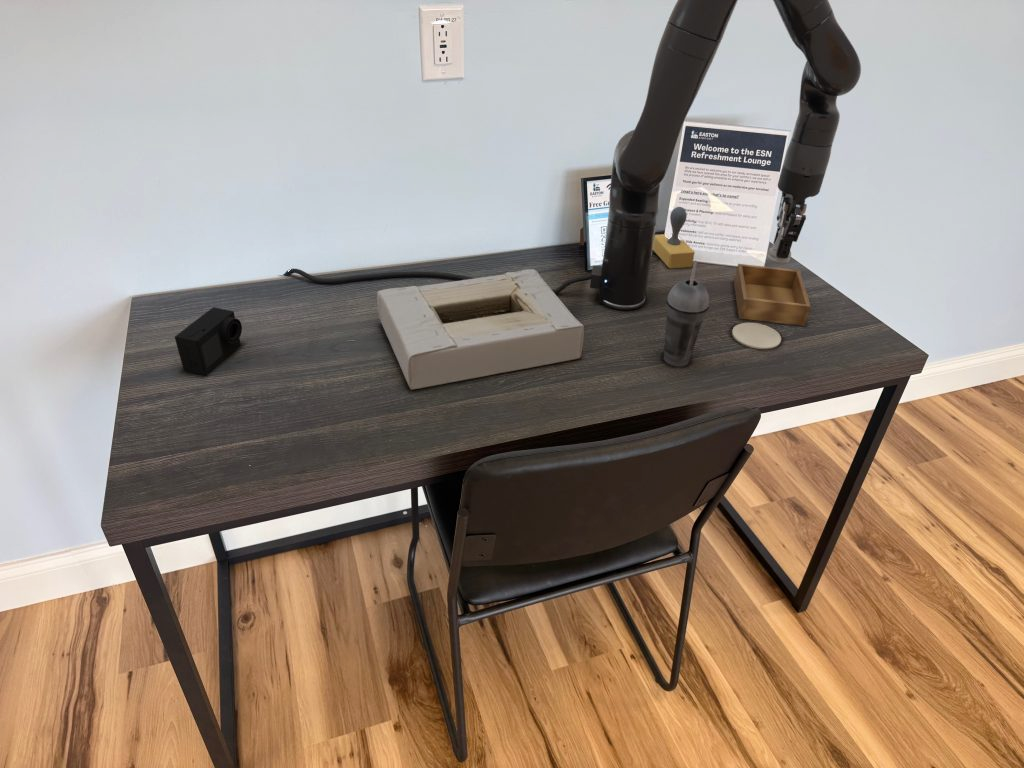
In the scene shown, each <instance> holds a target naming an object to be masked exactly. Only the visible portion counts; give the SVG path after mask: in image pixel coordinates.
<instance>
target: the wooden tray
mask: <svg viewBox="0 0 1024 768" xmlns="http://www.w3.org/2000/svg"><path fill="white" fill-rule="evenodd" d="M733 287H734V294H735V300H736V307H737V315H738V319H741V320H750V321H758V322H767V323H775V324H782V325H783V324H785V325H792V326H802V327H806V323H807V320H808V317H809V314H810V311H811V308H812V306H811V302H810V299H809V296H808V293H807V290H806V287H805V283H804V280H803V276H802V273H801V270H799V269H790V268H784V267H783V268H782V267H773V266H763V265H762V266H761V265H755V264H744V263H737V267H736V271H735V275H734V279H733Z"/></svg>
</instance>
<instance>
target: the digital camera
mask: <svg viewBox="0 0 1024 768" xmlns="http://www.w3.org/2000/svg"><path fill="white" fill-rule="evenodd" d="M242 332H243V325H242V322H241V321H240V319H238V318H236V316H235V312H234V310H228V309H225V308H220V307H219V308H218V307H212V308H210V309H209V310H207V311H206V312H205V313H203V314H202V315H201V316H200V317H198V318H197V319H196V320H194V321H193V322H191V324H189V325H188V326H187V327H185V328H184V329H183V330H181V331H180V332H179V333H177V334H176V335H175V336H174V340H175V343H176V347H177V350H178V355H179V358H180V362H181V365H182V368H183V371H184V372H187V373H193V374H197V375H202V376H206V375H208V374H210V372H211V371H213V370H214V369H215V368H216V367H217V366H218V365H219V364H221V363H222V362H223V361H224V360H225V359H226V358H227V357H229V356H230V355H231V354H232V353H234V351H235V350H237V349H238V348H239V347H240V346H241V345H242V343H241V339H240V338H241V336H242Z"/></svg>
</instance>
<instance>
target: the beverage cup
mask: <svg viewBox="0 0 1024 768" xmlns="http://www.w3.org/2000/svg"><path fill="white" fill-rule="evenodd" d="M697 266H698V260H696V259H694V260H693V264H692V270H691V275H690V279H683V280H681V281H679V282H676V284H675V285H674V286H673V287H671V289H670V291H669V292H668V295H667V297H666V299H665V303H666V324H665V334H664V347H663V360H664V362H665V363H667V364H668V365H670V366H674V367H684V366H687V365H688V364H689V363H690V359H691V357H692V356H693V351H694V349H695V347H696V343H697V339H698V336H699V333H700V331H701V327H702V324H703V321H704V319H705V317H706V315H707V313H708V310H709V309H710V296H709V292H708V290H707V289H706V287H705V286H704V284H702V283H701V282H699V281H697V280H695V276H696V275H695V274H696V270H697Z"/></svg>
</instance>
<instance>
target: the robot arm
mask: <svg viewBox="0 0 1024 768" xmlns="http://www.w3.org/2000/svg"><path fill="white" fill-rule="evenodd" d="M772 1H773V4H774V6H775V8H776V10H777V12H778V14H779V17H780V19H781V21H782V23H783V25H784V28H785V29H786V31H787V34H788V36H789V38H790V39H791V41H792V43H793V44H794V45H795V47H796V48H798V50H800V51H801V52H802V54H803V55H804V58H805V59H806V61H805V64H804V67H803V69H802V74H801V80H800V90H799V101H798V106H799V107H798V114H797V117H796V120H795V122H794V123H795V124H794V127H793V132H792V135H791V139H790V141H789V144H788V146H787V149H786V152H785V155H784V158H783V163H782V167H781V171H780V174H779V178H778V182H777V189H778V190H779V191H780V192H781V198H780V203H779V207H778V212H777V216H776V221H777V223H776V228H777V229H776V232H775V236H774V239H773V243H772V245H774V244H775V242H776V239H777V237H778V231H779V230H780V227H779V224H780V223H781V226H782V227H783V229H782V233H781V236H780V242H779V245H778V249H777V253H776V256H777V257H778V258H788V256H789V253H790V251H791V249H792V246H793V243H796V242H798V240H799V238H800V237H799V236H800V234H801V232H802V229H803V226H804V224H805V222H806V220H807V215H806V214H805V213H806V210H807V203H806V200H807V199H808V198H813V197H816V196H817V195H819V194H820V192H821V189H822V185H823V181H824V178H825V176H826V173H827V169H828V165H829V162H830V159H831V154H832V148H833V144H834V141H835V137H836V134H837V131H838V127H839V124H840V118H841V117H840V116H841V115H840V111H839V109H838V107H837V100H838V97H841V96H844V95H846V94H848V93H850V92H851V91H852V90H853V89H854V88H855V87H856V86H857V85H858V83H859V81H860V78H861V73H862V65H861V61H860V58H859V55H858V53H857V50H856V49H855V47H854V46H853V44H852V42H851V41H850V39H849V38H848V36H847V35H846V33H845V32H844V30H843V29H842V27H841V26H840V24H839V23H838V21H837V19H836V16H835V13H834V11H833V8H832V6H831V4H830V1H829V0H772ZM737 4H738V0H677V1H676V3H675V5H674V7H673V9H672V10H671V13H670V15H669V18H668V21H667V22H666V25H665V28H664V30H663V32H662V35H661V38H660V40H659V44H658V47H657V49H656V53H655V56H654V61H653V65H652V69H651V74H650V77H649V83H648V88H647V94H646V99H645V102H644V106H643V109H642V112H641V114H640V117H639V119H638V121H637V123H636V126H635V128H634V129H632V130H630V131H628V132H626V133H625V134H624V135H623V136H621V137H620V139H619V140H618V141H617V144H616V145H615V148H614V152H613V158H612V168H611V177H610V187H609V202H608V215H607V226H606V234H605V241H604V242H605V243H604V250H603V258H602V262H601V263H602V264H601V265H592V269H591V274H585V275H582V276H581V275H580V276H577V277H573V278H570V279H568V280H566V281H564V282H563V283H562V284H560V285H559V286H558V287H556V288H555V289H551V290H552V291H553V292H554V293H555V295H556V294H559V293H561V292H562V291H563V290H565V289H566V288H567V287H568V286H570V285H573V284H577V283H580V282H584V281H589V280H590V281H589V288H590V289H597V290H599V291H598V299H597V303H598V304H602V305H605V306H607V307H609V308H611V309H615V310H622V311H629V310H630V311H631V310H636V309H639V308H641V307H642V306H644V304H645V303H646V294H647V288H648V282H649V275H650V269H651V261H652V255H653V251H654V250H653V244H654V237H655V235H656V231H657V223H658V219H659V212H660V211H659V210H660V209H659V208H660V207H659V206H660V188H661V187H660V186H661V183H662V182H663V181H664V179H665V178H666V176H667V173H668V171H669V168H670V165H671V163H672V159H673V155H674V152H675V149H676V146H677V143H678V140H679V136H680V133H681V131H682V127H683V125H684V123H685V120H686V118H687V116H688V114H689V112H690V110H691V107H692V106H693V104H694V102H695V100H696V98H697V96H698V94H699V92H700V89H701V87H702V85H703V83H704V81H705V79H706V76H707V74H708V72H709V69H710V67H712V63H713V61H714V59H715V57H716V54H717V52H718V49H719V47H720V45H721V43H722V40H723V38H724V35H725V33H726V30H727V28H728V25H729V23H730V20H731V18H732V15H733V13H734V11H735V9H736V6H737ZM786 221H789V222H788V223H786ZM789 232H792V234H788V233H789ZM290 269H291V270H290ZM290 269H289V270H290V271H289V272H288V270H286V271H285V272H284V273H283V276H284V277H288V276H290V275H293V274H297V275H299V276H301V277H303V278H306V279H307V280H308V281H312V282H314V283H320V284H338V283H346V282H353V281H362V280H363V281H364V280H374V279H383V278H394V277H395V278H396V277H434V278H445V279H454V280H458V281H461V280H468V279H475V278H476V277H472V276H469V275H468V276H467V275H463V274H457V273H449V272H438V271H418V270H417V271H390V272H379V273H367V274H358V275H350V276H344V277H334V278H323V277H317V276H314V275H312V274H310V273H308V272H306V271H303V270H302V269H299V268H290Z"/></svg>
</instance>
